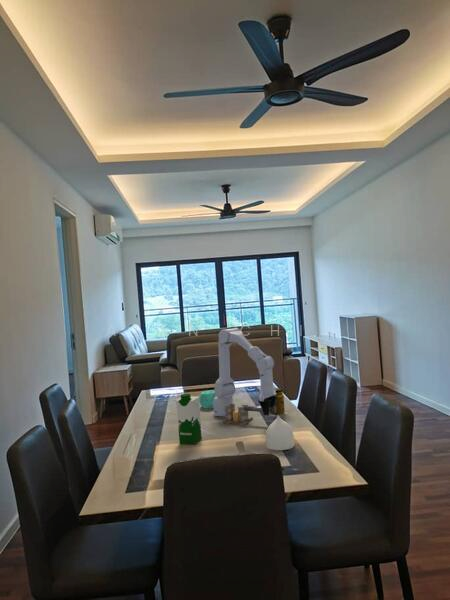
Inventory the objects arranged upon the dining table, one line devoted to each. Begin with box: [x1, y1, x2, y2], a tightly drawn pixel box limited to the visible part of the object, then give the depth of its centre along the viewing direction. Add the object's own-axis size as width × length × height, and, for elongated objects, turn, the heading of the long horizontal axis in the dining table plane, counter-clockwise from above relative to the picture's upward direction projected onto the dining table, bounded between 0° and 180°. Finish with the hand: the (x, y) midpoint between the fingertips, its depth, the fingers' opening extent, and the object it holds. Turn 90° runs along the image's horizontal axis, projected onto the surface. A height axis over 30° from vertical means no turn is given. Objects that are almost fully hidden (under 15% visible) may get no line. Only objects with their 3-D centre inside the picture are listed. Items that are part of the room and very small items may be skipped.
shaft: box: [244, 405, 276, 415], centre depth 200 cm, size 15×4×4 cm, turn 61°
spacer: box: [233, 408, 239, 421], centre depth 206 cm, size 2×5×5 cm, turn 160°
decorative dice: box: [199, 389, 217, 409], centre depth 238 cm, size 8×8×8 cm
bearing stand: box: [222, 402, 254, 426], centre depth 206 cm, size 10×10×8 cm
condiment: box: [268, 387, 288, 418], centre depth 214 cm, size 7×8×12 cm
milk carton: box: [175, 393, 203, 445], centre depth 182 cm, size 9×9×20 cm
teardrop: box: [265, 415, 295, 451], centre depth 170 cm, size 11×11×12 cm
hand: (268, 413), depth 198 cm, fingers open, 5 cm apart
